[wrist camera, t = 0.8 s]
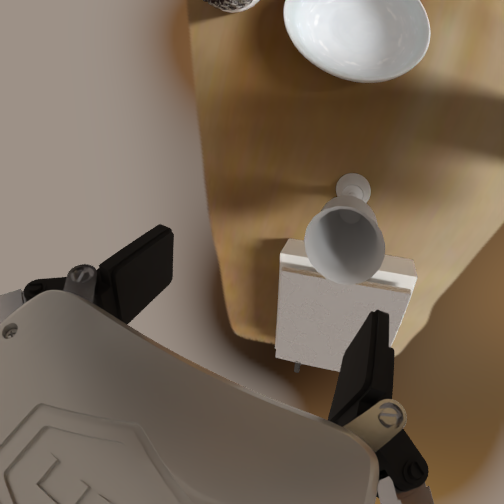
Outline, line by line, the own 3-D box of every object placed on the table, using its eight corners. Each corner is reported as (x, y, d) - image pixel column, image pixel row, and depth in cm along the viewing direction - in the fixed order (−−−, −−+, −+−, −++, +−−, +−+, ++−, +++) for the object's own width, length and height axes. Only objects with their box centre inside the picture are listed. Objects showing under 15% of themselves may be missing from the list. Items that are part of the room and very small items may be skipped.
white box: (407, 270, 37) (411, 294, 32) (373, 363, 47) (370, 387, 43) (291, 250, 43) (281, 270, 38) (284, 345, 53) (274, 367, 48)
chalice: (385, 203, 36) (397, 269, 22) (344, 222, 40) (327, 294, 25) (362, 157, 35) (362, 191, 20) (320, 178, 38) (288, 225, 24)
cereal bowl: (315, 96, 33) (305, 93, 27) (281, -3, 27) (265, -22, 21) (434, 82, 26) (449, 76, 20) (395, -21, 19) (399, -43, 13)
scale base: (413, 259, 38) (418, 279, 33) (379, 353, 48) (378, 375, 44) (289, 238, 44) (279, 254, 40) (282, 334, 55) (273, 354, 50)
